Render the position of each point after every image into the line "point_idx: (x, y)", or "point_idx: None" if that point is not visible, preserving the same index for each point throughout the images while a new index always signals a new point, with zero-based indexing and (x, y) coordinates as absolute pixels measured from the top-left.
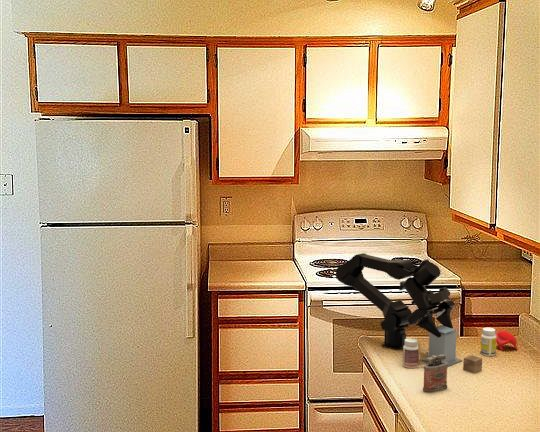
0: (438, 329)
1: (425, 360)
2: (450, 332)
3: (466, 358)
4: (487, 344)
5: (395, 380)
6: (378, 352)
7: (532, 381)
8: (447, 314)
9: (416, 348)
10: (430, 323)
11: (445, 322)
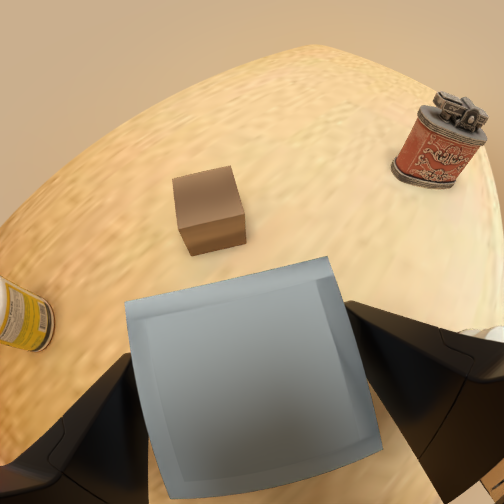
0: (310, 399)
1: None
2: (234, 280)
3: (237, 202)
4: (22, 296)
5: (493, 271)
6: None
7: (144, 114)
8: (34, 481)
9: (467, 332)
10: (491, 347)
11: (121, 468)
